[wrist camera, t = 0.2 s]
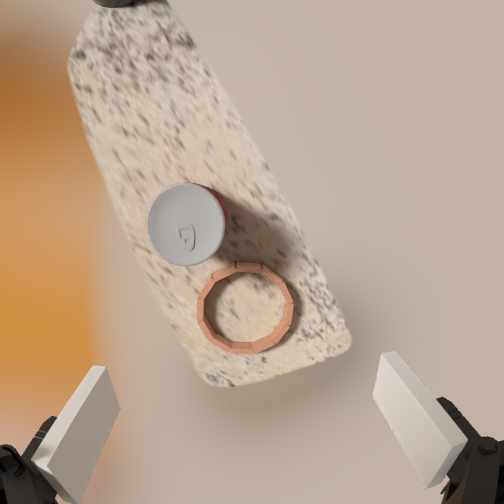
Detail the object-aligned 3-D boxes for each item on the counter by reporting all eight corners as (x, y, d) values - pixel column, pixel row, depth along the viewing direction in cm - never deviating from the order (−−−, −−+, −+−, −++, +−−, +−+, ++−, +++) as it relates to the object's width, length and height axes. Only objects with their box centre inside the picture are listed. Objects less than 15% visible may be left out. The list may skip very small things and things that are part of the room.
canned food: (185, 256, 39) (169, 280, 28) (157, 202, 38) (131, 206, 27) (237, 230, 39) (240, 245, 28) (210, 174, 37) (202, 168, 27)
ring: (182, 287, 40) (179, 291, 38) (267, 246, 40) (269, 249, 38) (224, 359, 43) (224, 366, 41) (303, 324, 42) (306, 330, 40)
